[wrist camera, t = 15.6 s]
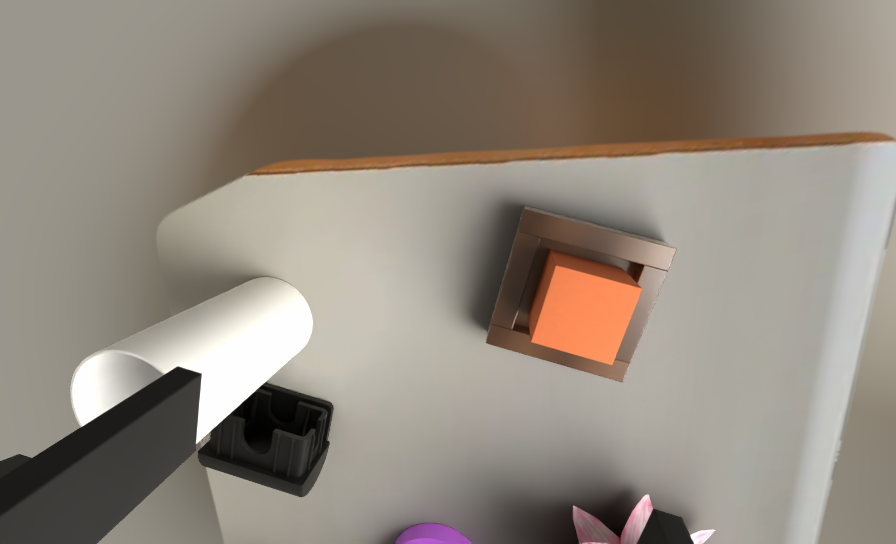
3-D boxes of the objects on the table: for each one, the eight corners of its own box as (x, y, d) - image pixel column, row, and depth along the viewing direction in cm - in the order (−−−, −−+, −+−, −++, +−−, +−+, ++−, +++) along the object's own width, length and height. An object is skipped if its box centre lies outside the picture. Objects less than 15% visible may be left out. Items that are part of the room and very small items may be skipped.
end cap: (239, 434, 45) (194, 480, 39) (246, 376, 43) (199, 414, 37) (328, 462, 45) (297, 513, 38) (339, 404, 43) (308, 448, 36)
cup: (311, 363, 42) (195, 481, 27) (233, 350, 43) (77, 456, 28) (313, 283, 40) (187, 362, 24) (231, 271, 41) (60, 339, 25)
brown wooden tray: (487, 331, 38) (485, 343, 36) (524, 205, 35) (525, 208, 33) (615, 368, 38) (622, 382, 35) (665, 242, 34) (677, 248, 32)
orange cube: (528, 315, 36) (530, 342, 31) (549, 248, 35) (555, 264, 29) (597, 335, 36) (612, 365, 31) (622, 268, 34) (642, 288, 29)
